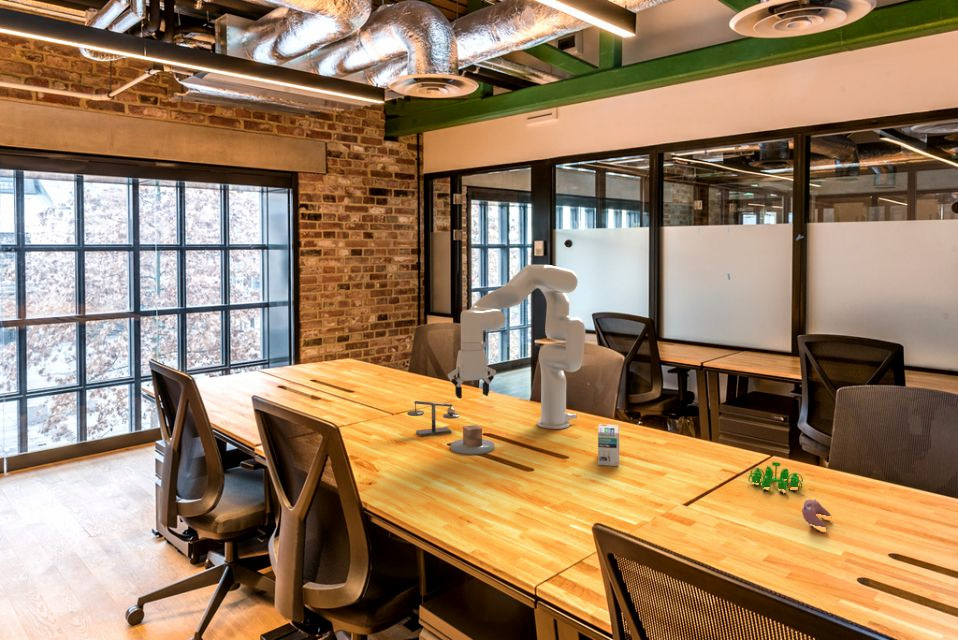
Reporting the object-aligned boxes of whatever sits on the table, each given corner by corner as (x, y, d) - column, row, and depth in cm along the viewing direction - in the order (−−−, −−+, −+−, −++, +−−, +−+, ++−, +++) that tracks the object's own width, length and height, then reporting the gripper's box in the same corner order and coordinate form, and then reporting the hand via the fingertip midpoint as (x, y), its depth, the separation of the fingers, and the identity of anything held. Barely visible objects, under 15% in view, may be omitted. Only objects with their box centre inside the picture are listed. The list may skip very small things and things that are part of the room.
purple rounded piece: (815, 523, 171) (802, 497, 172) (833, 519, 169) (820, 492, 170) (809, 537, 163) (796, 509, 164) (828, 533, 161) (815, 505, 162)
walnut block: (476, 441, 234) (476, 424, 233) (482, 445, 229) (482, 428, 228) (463, 443, 232) (462, 426, 231) (468, 447, 227) (468, 430, 226)
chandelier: (756, 495, 187) (757, 471, 186) (740, 477, 202) (741, 454, 201) (812, 497, 185) (814, 472, 185) (792, 478, 200) (793, 456, 200)
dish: (483, 439, 240) (483, 436, 240) (501, 451, 227) (501, 448, 226) (444, 444, 234) (444, 441, 234) (459, 457, 221) (459, 453, 221)
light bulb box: (619, 466, 211) (619, 433, 210) (597, 465, 212) (597, 432, 211) (618, 456, 221) (619, 424, 220) (598, 455, 222) (598, 423, 221)
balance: (455, 428, 256) (455, 395, 254) (461, 432, 250) (461, 398, 249) (405, 433, 248) (405, 400, 247) (410, 438, 243) (410, 403, 241)
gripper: (490, 343, 233) (491, 391, 235) (444, 346, 227) (444, 396, 229) (500, 346, 227) (500, 396, 228) (451, 350, 220) (452, 401, 222)
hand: (472, 396), depth 229 cm, fingers open, 9 cm apart
